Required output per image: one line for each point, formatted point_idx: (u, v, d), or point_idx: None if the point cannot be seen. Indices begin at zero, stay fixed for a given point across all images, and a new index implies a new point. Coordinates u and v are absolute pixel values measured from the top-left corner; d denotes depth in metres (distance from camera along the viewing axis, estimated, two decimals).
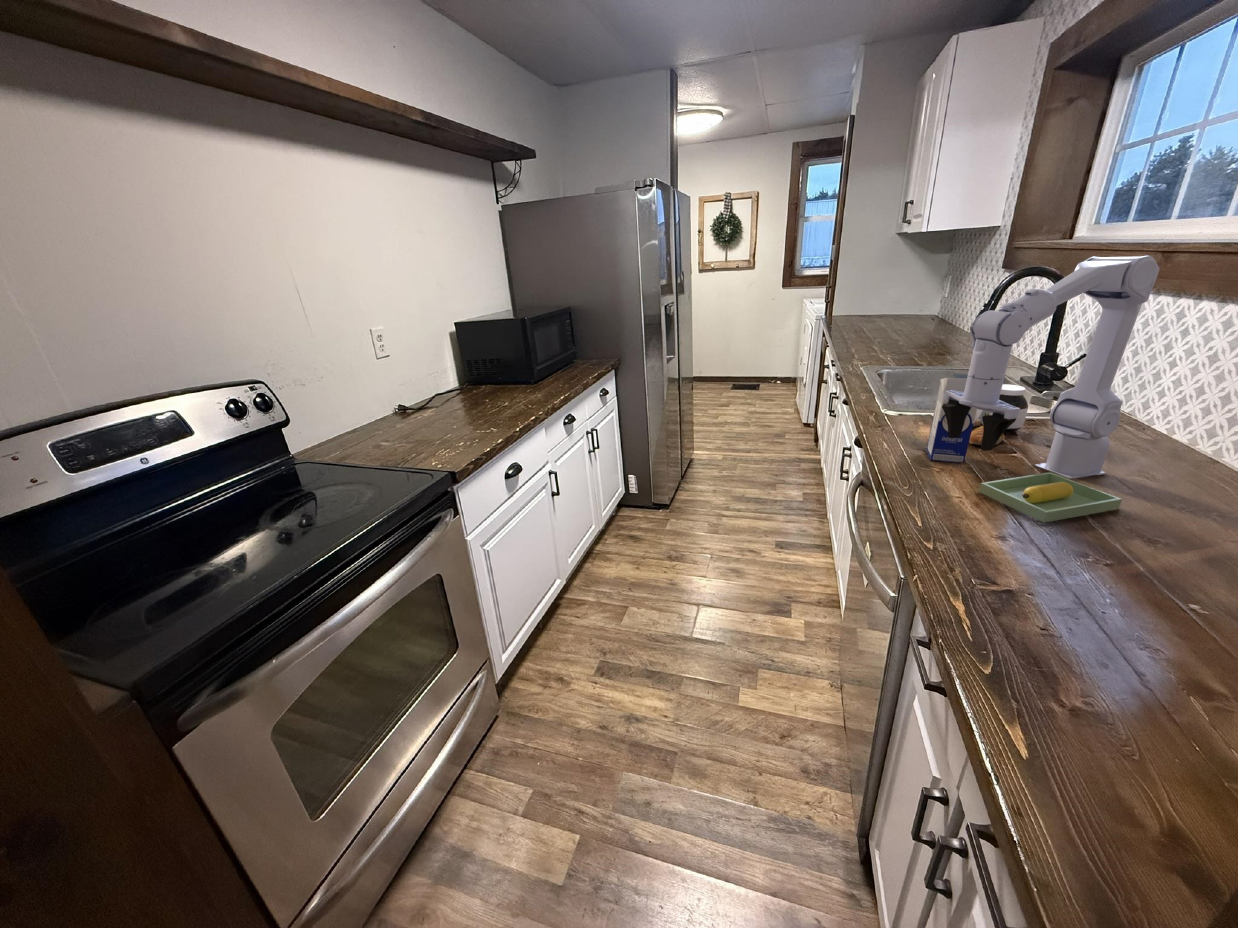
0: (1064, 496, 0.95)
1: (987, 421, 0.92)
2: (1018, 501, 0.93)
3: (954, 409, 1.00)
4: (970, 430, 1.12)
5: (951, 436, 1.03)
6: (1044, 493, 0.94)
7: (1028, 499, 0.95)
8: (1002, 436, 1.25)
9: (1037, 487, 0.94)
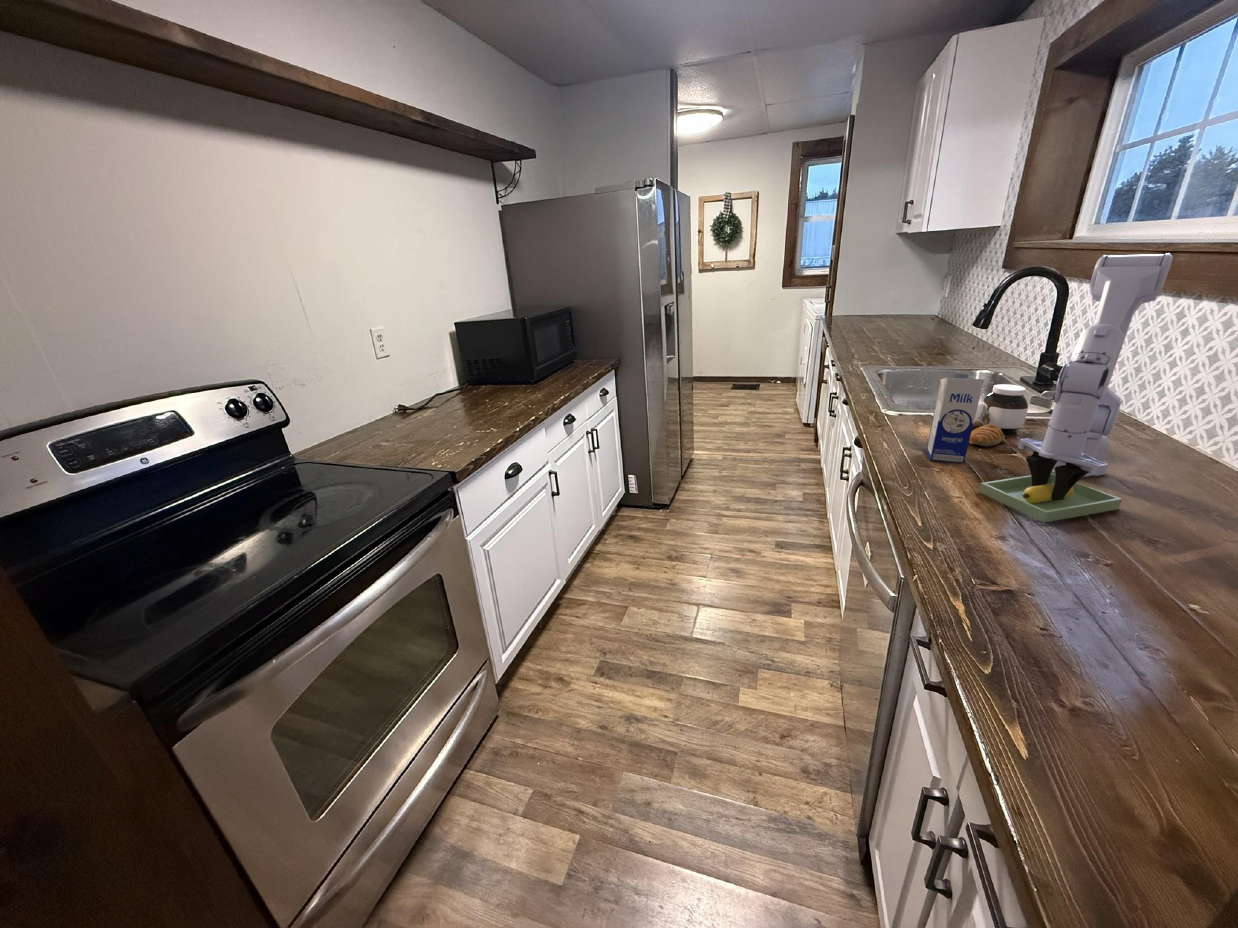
0: None
1: (1060, 472, 0.90)
2: (1018, 501, 0.93)
3: (1040, 463, 0.95)
4: (970, 430, 1.12)
5: None
6: (1045, 493, 0.93)
7: (1028, 499, 0.95)
8: (1002, 436, 1.25)
9: (1037, 487, 0.94)
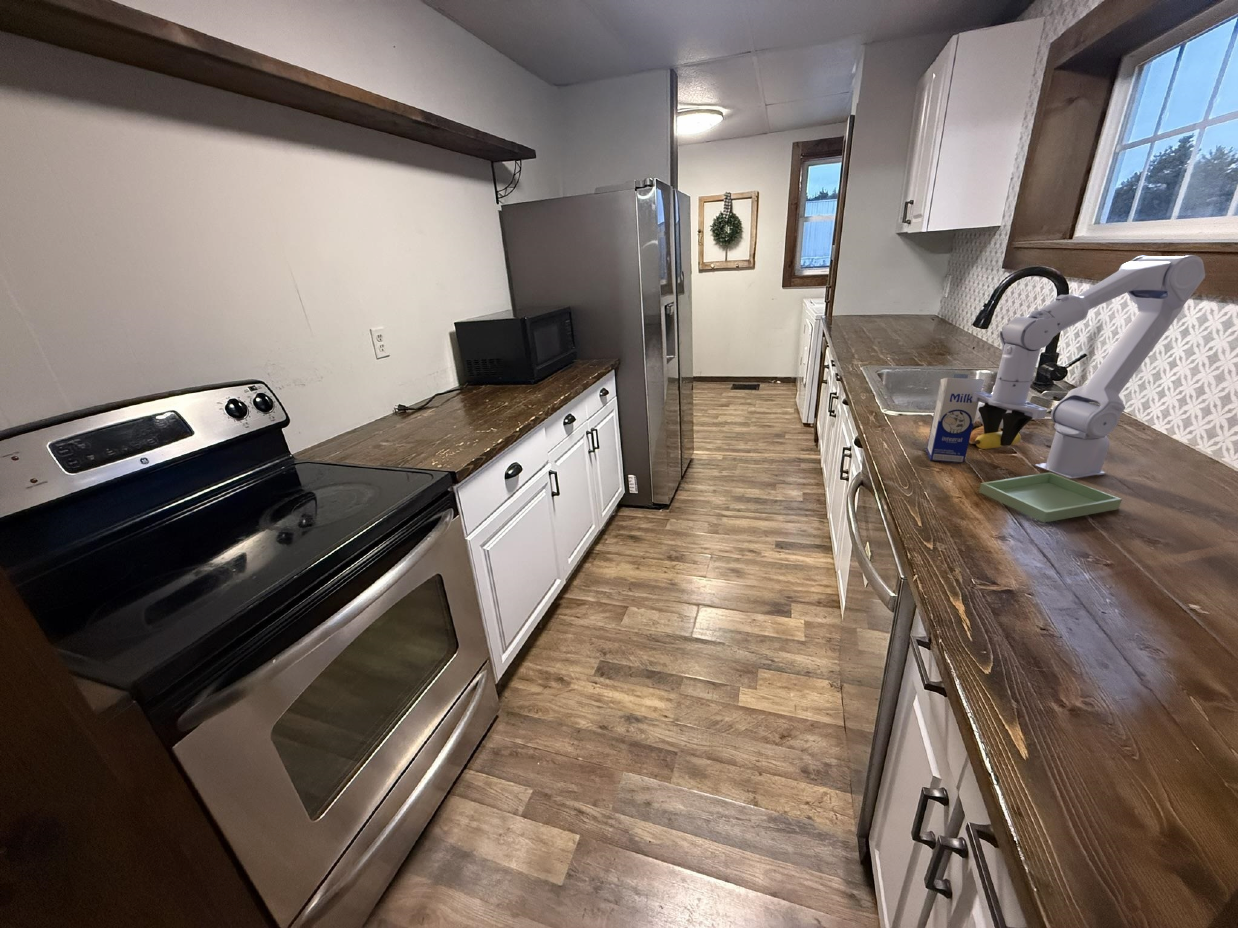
0: (1012, 442, 1.04)
1: (1007, 418, 1.00)
2: (1018, 501, 0.93)
3: (991, 412, 1.04)
4: (970, 430, 1.12)
5: None
6: (994, 439, 1.03)
7: (979, 445, 1.04)
8: None
9: (987, 434, 1.04)
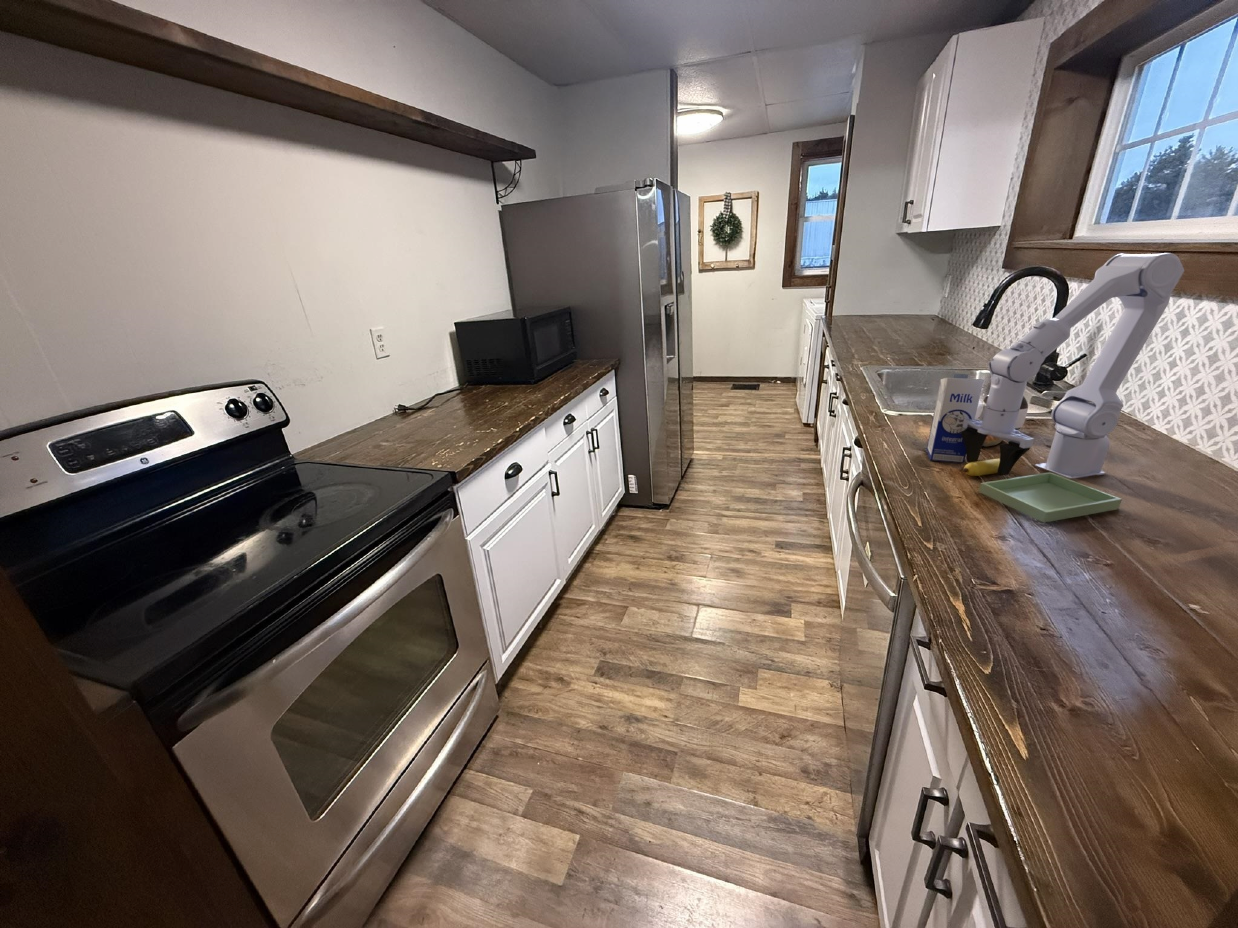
0: None
1: (1004, 449, 1.01)
2: (1018, 501, 0.93)
3: (972, 437, 1.09)
4: None
5: (969, 460, 1.12)
6: (981, 467, 1.07)
7: (968, 473, 1.08)
8: None
9: (975, 462, 1.08)
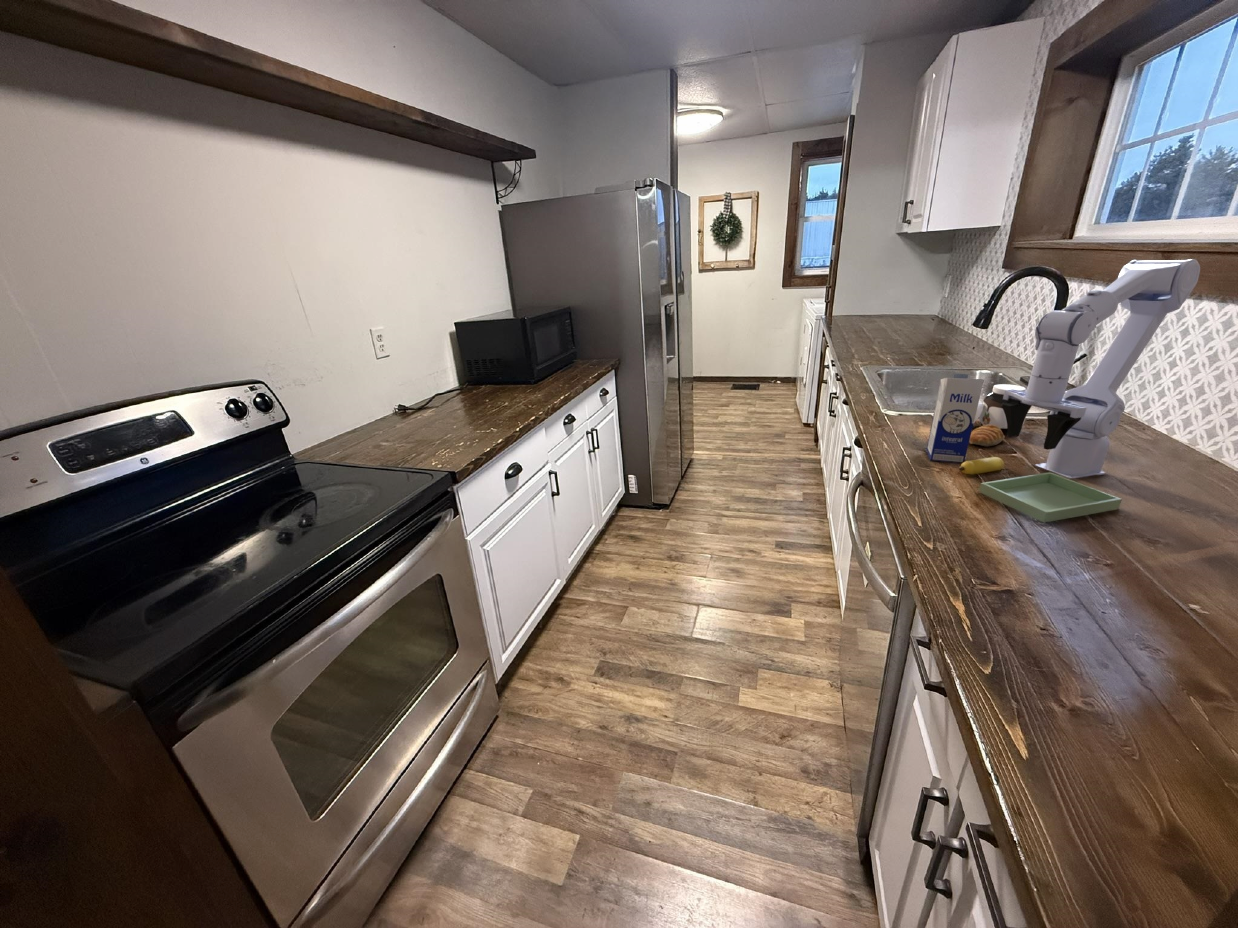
0: (997, 464, 1.08)
1: (1052, 420, 0.93)
2: (1018, 501, 0.93)
3: (1015, 408, 1.01)
4: (970, 430, 1.12)
5: (1010, 435, 1.03)
6: (975, 461, 1.08)
7: (965, 470, 1.08)
8: (1002, 436, 1.25)
9: (967, 461, 1.09)
